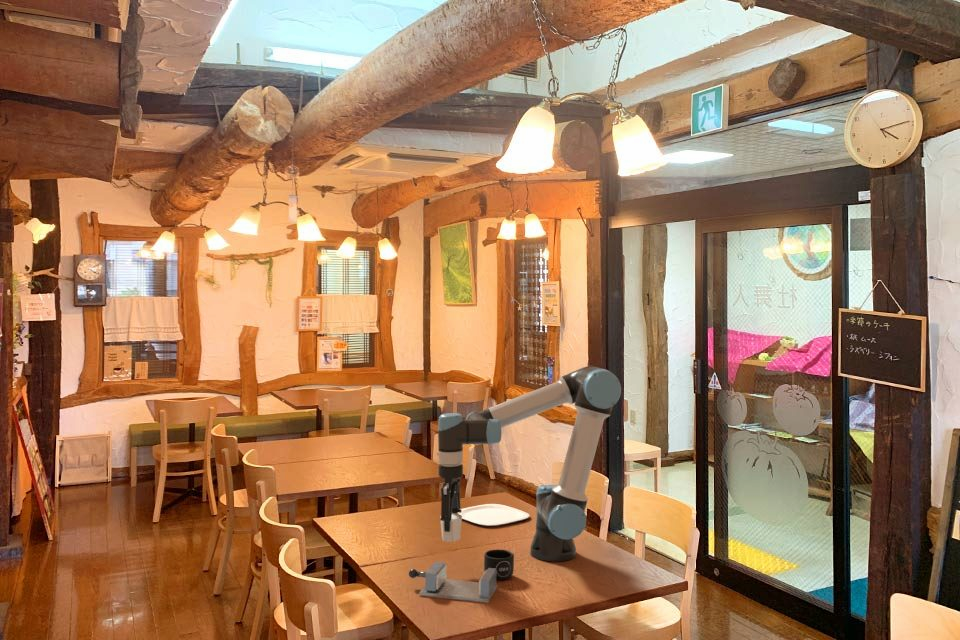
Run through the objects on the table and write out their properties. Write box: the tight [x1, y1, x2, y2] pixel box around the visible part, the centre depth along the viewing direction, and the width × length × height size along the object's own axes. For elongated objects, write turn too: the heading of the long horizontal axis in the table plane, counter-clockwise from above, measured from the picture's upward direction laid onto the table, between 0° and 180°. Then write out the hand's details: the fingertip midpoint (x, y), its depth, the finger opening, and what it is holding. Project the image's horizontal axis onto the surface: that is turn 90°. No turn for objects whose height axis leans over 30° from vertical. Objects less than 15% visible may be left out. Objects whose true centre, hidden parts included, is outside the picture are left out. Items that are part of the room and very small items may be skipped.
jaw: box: [408, 561, 448, 591], centre depth 228 cm, size 10×10×5 cm
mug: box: [483, 549, 515, 581], centre depth 240 cm, size 12×9×7 cm
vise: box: [419, 568, 498, 604], centre depth 226 cm, size 20×12×6 cm, turn 77°
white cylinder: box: [439, 514, 463, 542], centre depth 242 cm, size 7×7×7 cm
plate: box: [459, 503, 531, 527], centre depth 303 cm, size 25×25×2 cm
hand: (451, 537), depth 242 cm, fingers closed on white cylinder, 7 cm apart
